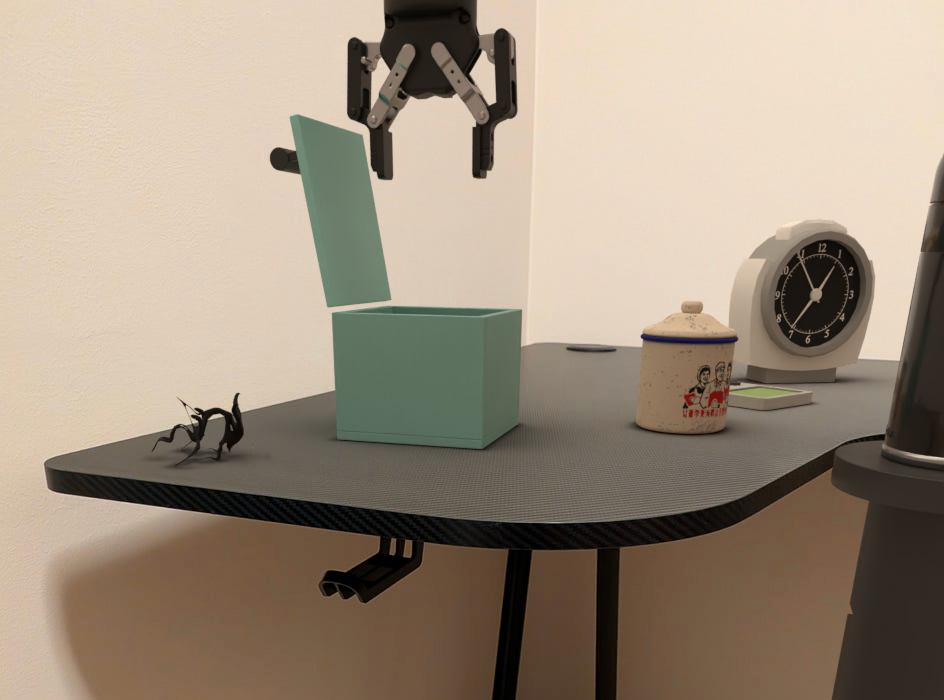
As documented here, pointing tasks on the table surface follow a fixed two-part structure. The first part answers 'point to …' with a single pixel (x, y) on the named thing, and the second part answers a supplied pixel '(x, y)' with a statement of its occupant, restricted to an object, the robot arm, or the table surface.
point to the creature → (198, 431)
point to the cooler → (427, 374)
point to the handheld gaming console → (765, 396)
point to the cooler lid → (338, 210)
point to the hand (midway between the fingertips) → (431, 179)
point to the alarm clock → (802, 303)
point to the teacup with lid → (685, 373)
